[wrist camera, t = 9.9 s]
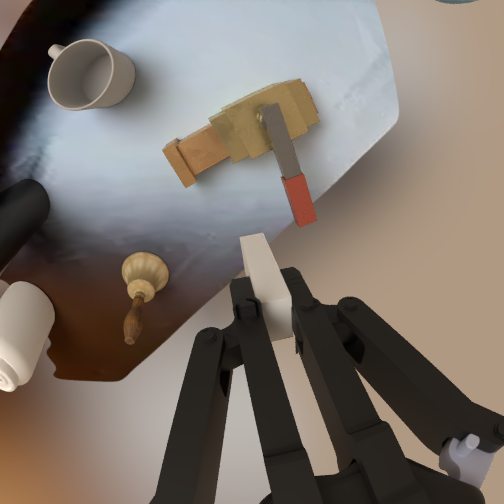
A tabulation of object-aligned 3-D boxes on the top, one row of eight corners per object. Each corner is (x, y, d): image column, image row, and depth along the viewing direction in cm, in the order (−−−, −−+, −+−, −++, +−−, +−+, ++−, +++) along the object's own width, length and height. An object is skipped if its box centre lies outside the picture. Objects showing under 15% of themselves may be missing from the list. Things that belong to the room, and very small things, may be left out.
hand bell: (157, 299, 51) (149, 368, 37) (115, 280, 47) (94, 347, 34) (177, 264, 48) (172, 332, 34) (132, 243, 45) (110, 306, 31)
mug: (148, 71, 33) (131, 62, 23) (110, 118, 35) (82, 125, 25) (91, 30, 27) (61, 14, 18) (56, 77, 29) (18, 75, 20)
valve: (289, 76, 36) (306, 73, 30) (309, 118, 40) (328, 122, 34) (164, 140, 38) (158, 148, 32) (189, 180, 42) (187, 194, 36)
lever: (253, 108, 32) (259, 108, 28) (272, 101, 32) (280, 102, 28) (291, 216, 39) (299, 227, 36) (307, 209, 39) (316, 220, 36)
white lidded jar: (53, 287, 46) (13, 366, 29) (59, 333, 51) (32, 408, 34) (4, 273, 42) (-43, 341, 25) (13, 318, 47) (-20, 386, 30)
